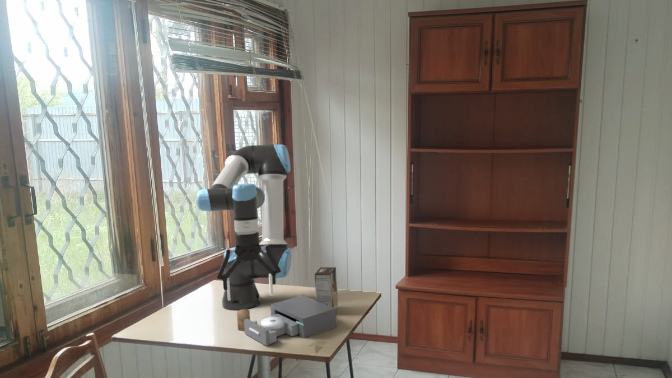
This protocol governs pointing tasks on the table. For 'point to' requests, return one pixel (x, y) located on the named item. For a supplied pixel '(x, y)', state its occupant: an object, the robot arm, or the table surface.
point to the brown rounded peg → (242, 318)
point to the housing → (307, 314)
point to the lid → (273, 323)
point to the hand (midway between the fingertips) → (250, 296)
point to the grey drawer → (270, 335)
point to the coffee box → (326, 286)
